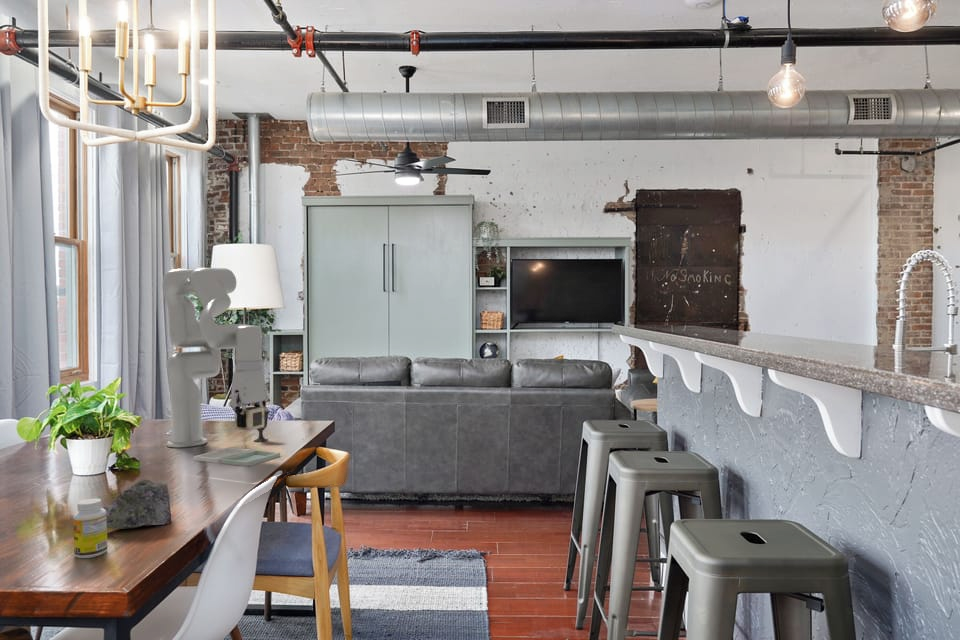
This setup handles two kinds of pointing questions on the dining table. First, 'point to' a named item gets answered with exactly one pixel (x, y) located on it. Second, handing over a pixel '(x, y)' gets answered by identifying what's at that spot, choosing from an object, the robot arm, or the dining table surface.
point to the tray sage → (250, 458)
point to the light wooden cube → (252, 418)
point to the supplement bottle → (90, 529)
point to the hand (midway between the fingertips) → (249, 424)
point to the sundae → (261, 438)
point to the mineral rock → (140, 506)
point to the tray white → (220, 454)
